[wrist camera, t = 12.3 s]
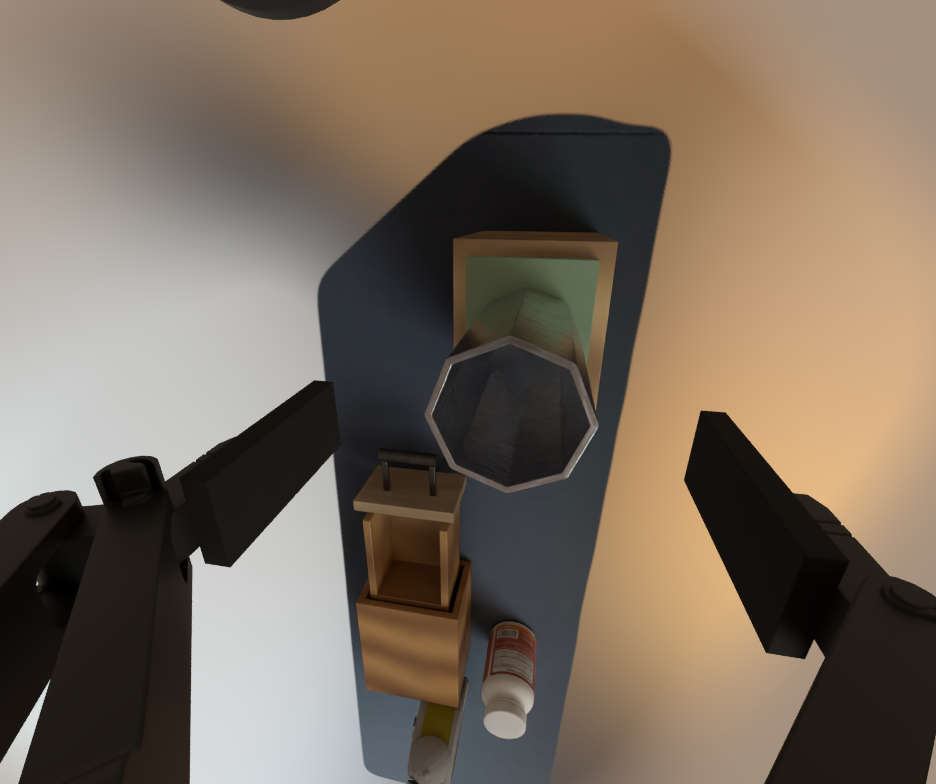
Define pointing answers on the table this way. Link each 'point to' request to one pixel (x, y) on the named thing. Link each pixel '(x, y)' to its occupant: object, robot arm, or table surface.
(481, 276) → the mat
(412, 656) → the cabinet
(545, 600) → the table surface
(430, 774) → the alarm clock
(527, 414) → the metal cup
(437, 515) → the drawer
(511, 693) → the pill bottle
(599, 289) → the stand
